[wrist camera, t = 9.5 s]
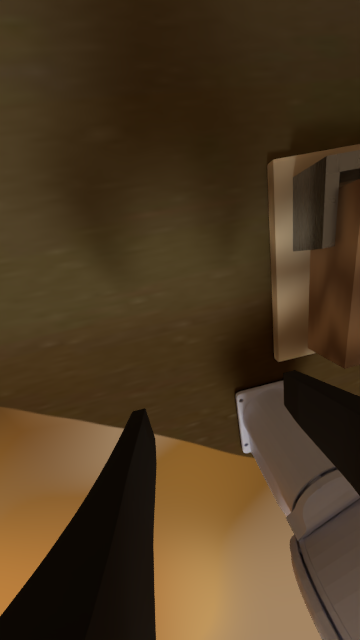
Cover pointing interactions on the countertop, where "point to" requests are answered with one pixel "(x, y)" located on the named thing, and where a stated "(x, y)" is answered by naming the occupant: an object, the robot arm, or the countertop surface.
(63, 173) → the countertop surface
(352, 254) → the rail
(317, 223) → the bracket
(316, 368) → the countertop surface
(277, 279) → the mounting board
